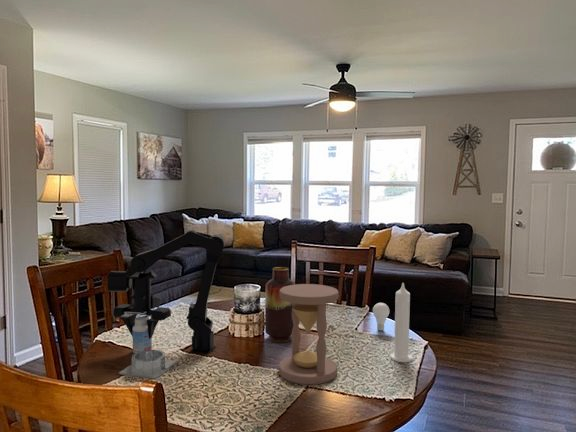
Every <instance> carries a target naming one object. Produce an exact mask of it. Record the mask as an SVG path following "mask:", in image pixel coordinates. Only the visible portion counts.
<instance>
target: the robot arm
mask: <svg viewBox="0 0 576 432" xmlns="http://www.w3.org/2000/svg"><path fill="white" fill-rule="evenodd" d="M190 244H193V245H196V246H198V247H201V248H204V249H206V250H205V265H204V269H203V272H202V277H201V280H200V284H199V289H198V293H197V297H196V300H195V303H193V302H190V305H189V307H188V313H187V316H186V320H187V325H188V327H189V328H190V329H191V330H192V336H191V348H192V349H191V350H190V352H191V353H197V354H210V353H211V352H212V351H214V349H216V347H217V346H216V345H214V343H215V334H214V333H215V332H214V330H212V329H213V324H214V322H213V321H212V319H210V318H209V317H208V300H209V295H210V293H211V292H210V291H211V287H212V284H213V281H214V275H215V273H216V268H217V264H218V261H219V260H220V258H221V255H222V253H223V250H224V248H225V245H226V240H225V239H224V237H223V236H222V235H220V234H213V235H211V234H208V233H203V232H199V231H196V230H194V229H191V230H188V231H187V232H186V233H184V234H181V235H180V236H179V237H176V238H174V239H172V240H171V241H167V242H166V243H164V244H162V245H160V246H159V247H156V248H152V249H149V250H146V251H143V252H139V253H138V254H136V255H134V256H133V257H132V258H131V260H130V266H129V267H128V269H126V271H124V270H120V271H119V270H110V272H109V276H108V278H107V279H108V280H107V282H106V284H107V287H106V288H107V290H108V292H110V293H113V292H114V293H115V292H118V293H119V292H120V293H121V292H124V293H125V292H128V291H129V289H131V288H132V295H130V296H129V298H130V299H131V300H132V304H130V303H129V304H128V303H127V304H126V303H122V304H120V305H117V306H115V307H114V308H113V309H112V317H118V318H119V320H122V321H123V323H124V325H125V326H126V328H127V329H128V332H129V334H130V335H131V337H132V338H133V326H134V325H136V324H135V318H137V315H140V316H150V318H149V320H147V325H148V335H149V338H150V339H151V338H153V336H154V333H155V331H156V328H157V325H158V323H159V322H160V321H164V320H167V319H168V318H170V317H171V316H172V310H171V309H170V308H169V307H161V306H160V305H161V299H162V298H160V297H154V292H152V291H151V289H152V287H151V286H152V283H151V281H152V279H156V277H157V276H158V275H157V273H155V272H154V271H153V269H151V270H149V271H148V272H145V271H147V270H148V269H149V268H151V267H152V266H153V265H154V264H156V263H157V262H159V260H162V259H163V258H165V257H167V256H168V255H170V254H173V253H174V252H176V251H178V250H180V249H182V248H184V247H187V246H188V245H190ZM136 273H138V274H136Z"/></svg>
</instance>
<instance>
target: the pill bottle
mask: <svg viewBox="0 0 576 432" xmlns="http://www.w3.org/2000/svg"><path fill="white" fill-rule="evenodd" d="M149 319H150V318H149V316H138V317H137V316H136V318H135V325H134V326H133V337H132V353H133V354H135V353H137V352H140V351H144V350H153V349H152V347H153V346H152V345H153V343H152V342H153V341H152V340H153V339H152V338H153V337H152V338H151V339H150V338H149V335H148V325H147V320H149Z"/></svg>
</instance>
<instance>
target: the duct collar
mask: <svg viewBox="0 0 576 432" xmlns="http://www.w3.org/2000/svg"><path fill="white" fill-rule="evenodd" d="M176 364H177V361H176V360H168V359H167V360H166V352H165V351H163V350H161V349H152V350H144V351H140V352H137V353H133V354H132V355H131V364H130V365H128V366H127V367H125V368H124V369H122V370H121V371H119V372H118V375H121V376H128V377H129V376H130V377H138V378H144V379H152V380H157V379H158V378H160V377H161V376H162V375H163V374H164V373H165V372H167V371H168V370H170V369H171V368H172V367H174V366H175V365H176Z"/></svg>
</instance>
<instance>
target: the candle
mask: <svg viewBox="0 0 576 432" xmlns="http://www.w3.org/2000/svg"><path fill="white" fill-rule="evenodd" d="M394 302H395V303H394V305H395V306H394V307H395V308H394V309H395V311H394V340H393V341H394V345H393V346H394V348H393V353H390V354H389V358H390V359H391V360H392V361H394V362H398V363H409V362H412V361H413V356H412V355H411V354H409V346H410V345H409V342H410V341H409V340H410V339H409V338H410V312H411V311H410V310H411V309H410V307H411V306H410V305H411V303H410V302H411V293H410V292H409V291H408V290H407V289H406V287H405V283H404V282H402V283H401V287H400V289H398V290H397V291H396V292H395V300H394Z"/></svg>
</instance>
